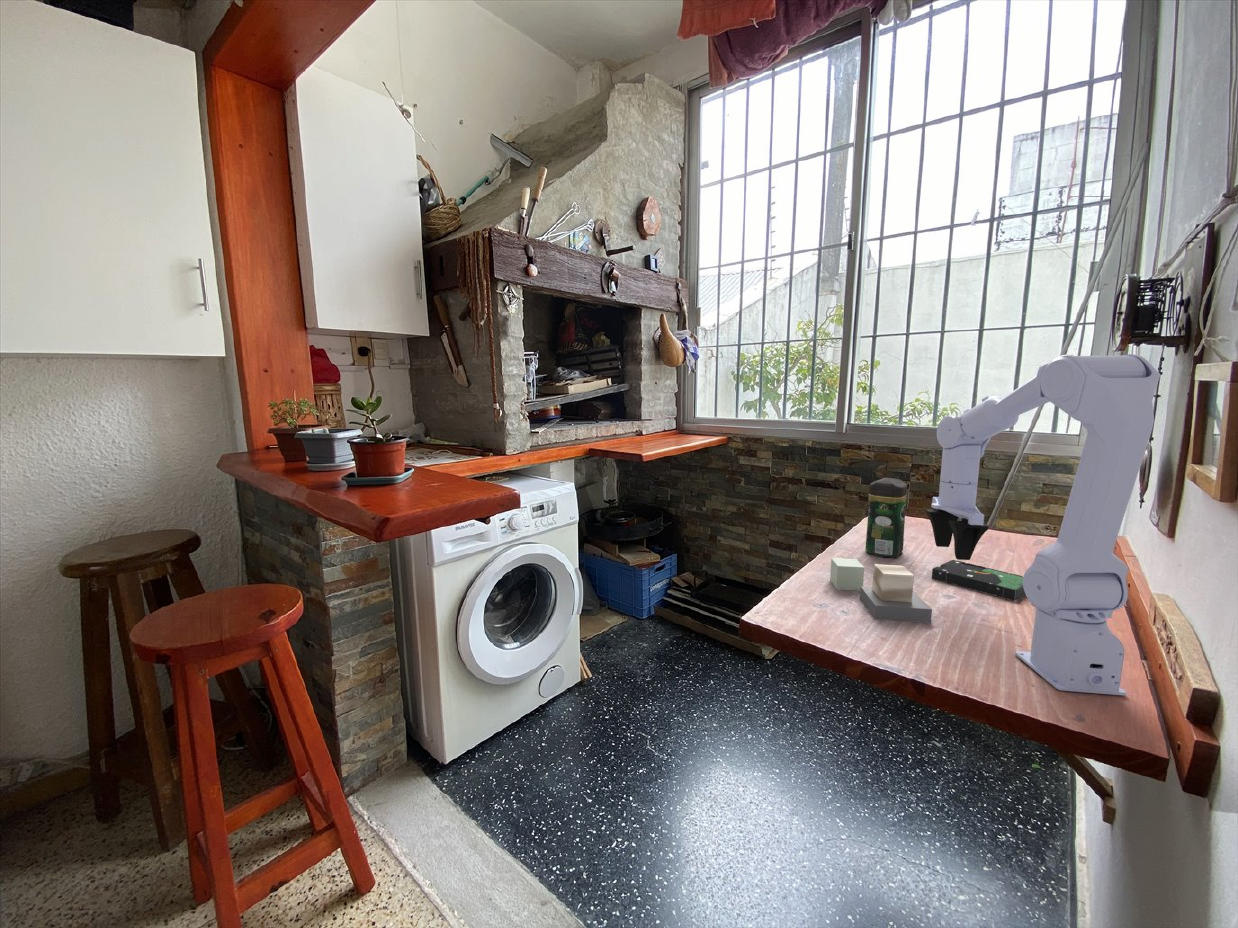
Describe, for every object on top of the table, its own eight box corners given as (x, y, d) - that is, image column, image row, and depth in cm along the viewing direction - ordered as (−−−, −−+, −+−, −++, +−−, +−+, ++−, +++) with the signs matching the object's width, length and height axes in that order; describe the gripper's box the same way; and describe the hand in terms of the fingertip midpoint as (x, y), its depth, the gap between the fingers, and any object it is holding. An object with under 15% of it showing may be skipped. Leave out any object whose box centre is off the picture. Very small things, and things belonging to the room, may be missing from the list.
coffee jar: (871, 544, 128) (876, 474, 125) (905, 550, 123) (911, 477, 120) (860, 553, 121) (865, 479, 118) (896, 560, 116) (902, 483, 113)
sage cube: (862, 591, 98) (864, 567, 97) (836, 589, 99) (837, 566, 98) (855, 581, 103) (856, 558, 102) (830, 580, 104) (831, 557, 103)
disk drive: (930, 581, 104) (1016, 603, 92) (931, 568, 104) (1017, 589, 92) (950, 570, 110) (1033, 590, 98) (951, 558, 110) (1035, 577, 98)
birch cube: (911, 602, 87) (914, 575, 86) (881, 600, 87) (883, 573, 87) (900, 591, 91) (902, 565, 91) (872, 589, 92) (874, 564, 92)
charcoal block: (930, 625, 84) (932, 609, 84) (874, 621, 86) (875, 605, 86) (910, 604, 93) (911, 589, 93) (859, 600, 95) (860, 586, 94)
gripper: (918, 474, 98) (912, 540, 100) (954, 488, 84) (947, 564, 86) (956, 475, 97) (950, 541, 99) (1000, 489, 83) (992, 566, 84)
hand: (952, 552), depth 92 cm, fingers open, 7 cm apart
